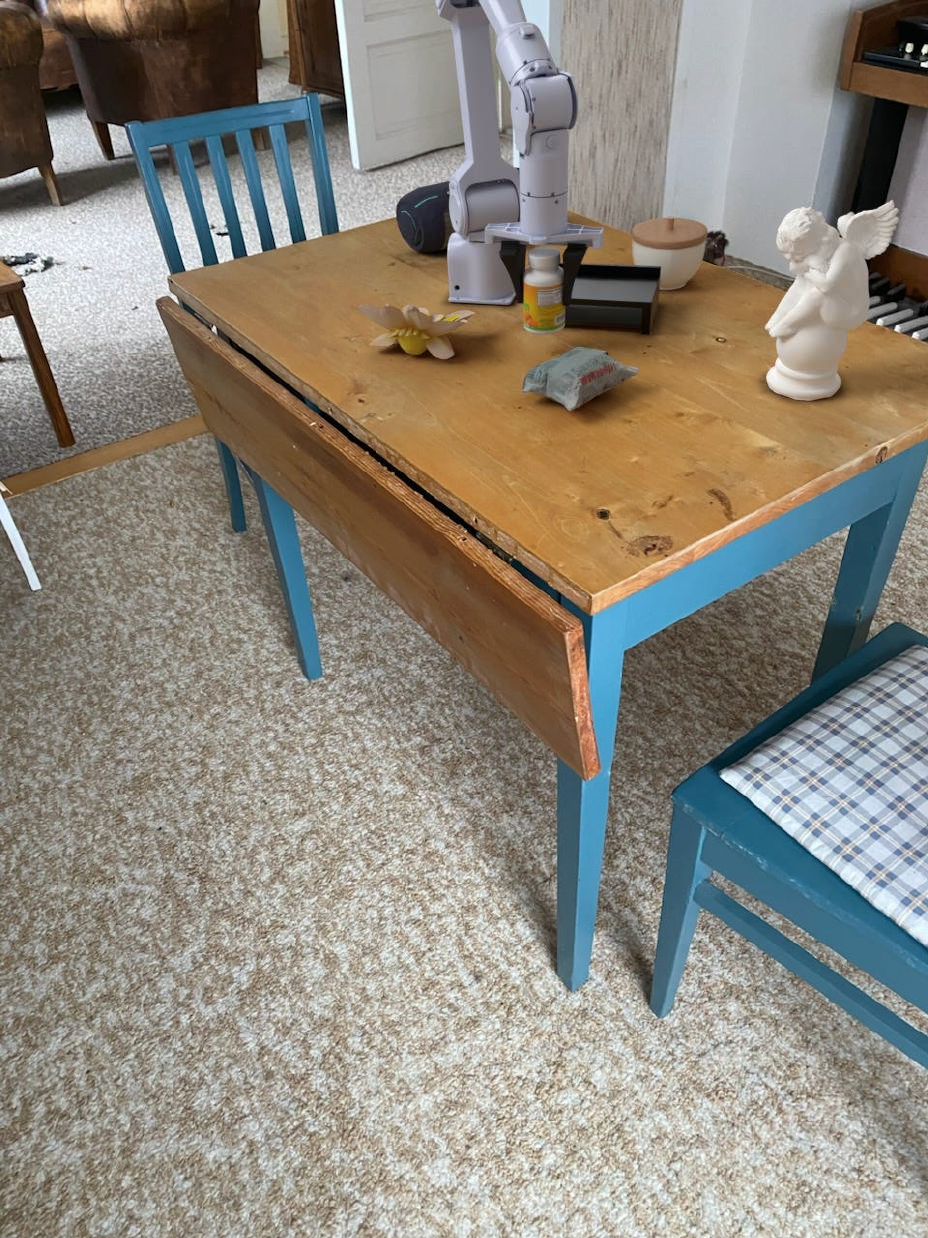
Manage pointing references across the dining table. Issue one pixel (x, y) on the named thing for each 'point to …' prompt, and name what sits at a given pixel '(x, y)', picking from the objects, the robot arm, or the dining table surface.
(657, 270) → the black lipped tray
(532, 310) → the supplement bottle
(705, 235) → the trinket box
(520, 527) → the dining table surface
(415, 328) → the decorative flower
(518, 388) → the dining table surface
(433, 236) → the portable speaker
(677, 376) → the dining table surface
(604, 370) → the packaged food
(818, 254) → the cherub figurine
